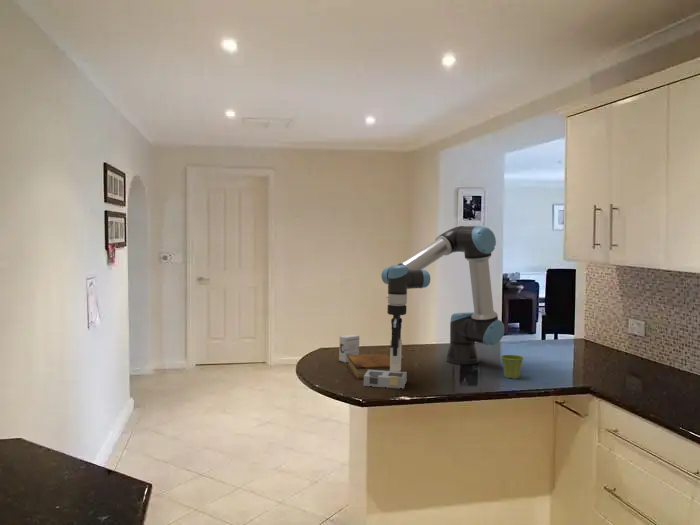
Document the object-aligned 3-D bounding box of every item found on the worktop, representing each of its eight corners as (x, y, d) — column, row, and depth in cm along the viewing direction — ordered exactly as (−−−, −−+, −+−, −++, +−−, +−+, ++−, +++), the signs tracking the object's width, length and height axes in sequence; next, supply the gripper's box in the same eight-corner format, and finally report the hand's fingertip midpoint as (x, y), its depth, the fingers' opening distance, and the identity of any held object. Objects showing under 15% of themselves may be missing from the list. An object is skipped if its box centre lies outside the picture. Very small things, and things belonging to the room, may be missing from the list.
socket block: (406, 381, 247) (406, 371, 247) (403, 388, 236) (404, 378, 236) (368, 379, 250) (368, 369, 250) (363, 386, 239) (363, 375, 239)
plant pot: (495, 375, 260) (496, 355, 260) (513, 373, 264) (514, 353, 264) (509, 380, 252) (510, 360, 251) (527, 378, 256) (528, 358, 255)
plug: (400, 369, 244) (401, 337, 243) (399, 371, 240) (400, 339, 239) (391, 368, 245) (391, 337, 244) (389, 370, 241) (390, 339, 240)
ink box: (352, 358, 288) (353, 334, 287) (359, 360, 284) (360, 335, 283) (338, 360, 283) (338, 335, 282) (345, 363, 279) (345, 337, 278)
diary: (400, 379, 254) (400, 365, 253) (356, 380, 250) (356, 367, 250) (387, 365, 276) (387, 353, 276) (347, 367, 273) (347, 354, 272)
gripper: (390, 301, 250) (389, 357, 251) (384, 306, 233) (383, 366, 234) (408, 302, 248) (407, 358, 250) (404, 307, 232) (402, 367, 233)
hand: (395, 362), depth 242 cm, fingers closed on plug, 4 cm apart
